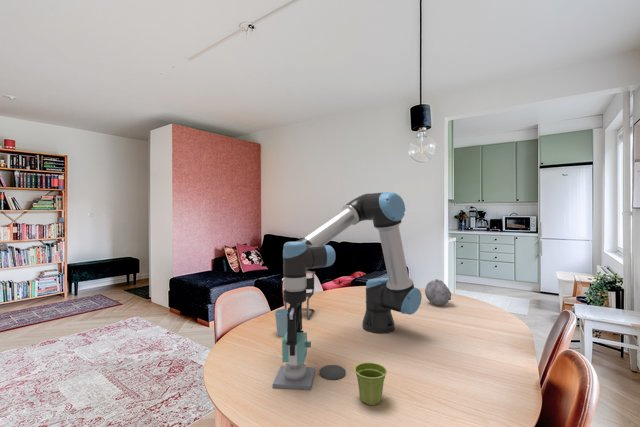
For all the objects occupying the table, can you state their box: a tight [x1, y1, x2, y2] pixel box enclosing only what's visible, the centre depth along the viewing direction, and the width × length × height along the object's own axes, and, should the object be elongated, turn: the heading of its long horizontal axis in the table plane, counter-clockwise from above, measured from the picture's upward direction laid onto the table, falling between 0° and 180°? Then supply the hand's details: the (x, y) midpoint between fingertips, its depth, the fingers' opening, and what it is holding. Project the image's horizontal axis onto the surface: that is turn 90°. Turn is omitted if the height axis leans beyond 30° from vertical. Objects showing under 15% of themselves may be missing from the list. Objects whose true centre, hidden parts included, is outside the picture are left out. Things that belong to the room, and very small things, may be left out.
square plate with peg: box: [272, 362, 316, 391], centre depth 104 cm, size 12×12×9 cm
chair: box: [284, 270, 316, 320], centre depth 170 cm, size 13×17×22 cm
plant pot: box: [353, 361, 388, 406], centre depth 92 cm, size 9×9×9 cm
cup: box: [274, 308, 288, 338], centre depth 142 cm, size 8×8×10 cm
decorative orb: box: [424, 278, 452, 306], centre depth 187 cm, size 15×14×15 cm
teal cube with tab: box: [281, 332, 312, 364], centre depth 104 cm, size 9×7×7 cm
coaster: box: [318, 364, 347, 381], centre depth 107 cm, size 9×9×1 cm
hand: (295, 358), depth 104 cm, fingers closed on teal cube with tab, 7 cm apart
